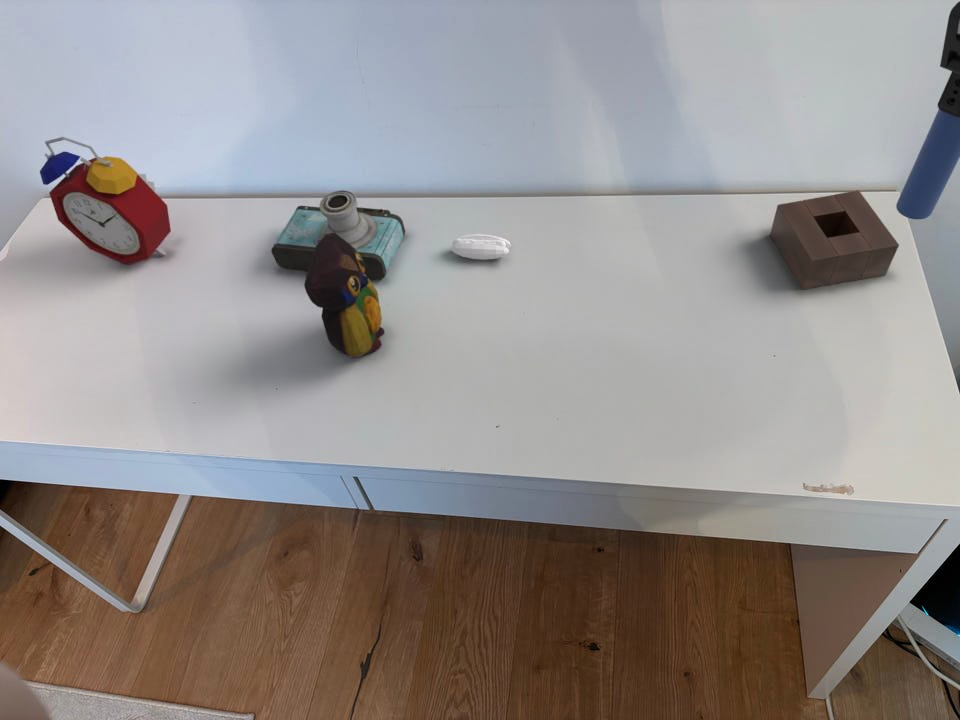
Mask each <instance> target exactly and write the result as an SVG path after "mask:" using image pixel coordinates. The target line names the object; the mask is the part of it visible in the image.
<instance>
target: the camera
mask: <svg viewBox="0 0 960 720" xmlns="http://www.w3.org/2000/svg"><path fill="white" fill-rule="evenodd" d="M334 232H335V233H336V234H337V235H339V236H340V237H341V238H342V239H344V240H345V241H346V242H348V243H349V244H350V245H351V246H352V247H354V248H355V249H356V251H357V252H358V253H359V254H360V256H361V258H362V260H363V263H364V267H365V273H364V274H365V275H366V276H367V277H368V279H369V280H383V279H384V278H385V277H386V275H387V273H388V270H390V266H391V265H392V262H393V260H394V258H395V256H396V254H397V252H398V249H399V248H400V245H401V243H402V241H403V239H404V237H405V235H406V229H405V224H404V222H403V219H402V217H401V216H399V215H398V214H395V213H391V211H390V210H389V209H383V208H371V207H370V208H369V207H358V200H357V197H356V194H354V193H353V192H352V191H349V190H336V191H333V192H330V193H328V194H327V195H325V196H324V197H323V198H322V199H321V200H320V202H319V206H309V205H298V206H297V207H296V209H295V210H294V212H293V213H292V215H291V216H290V218H289V220H288V221H287V223H286V225H285V226H284V228H283V229H282V231H281V233H280V235H279V236H278V237H277V239H276V241H275V242H274V244H273V246H272V248H271V249H270V250H271V251H270V252H271V254H272V256H273V258H274V261H275V263H276V264H277V265H278V266H279V267H280V268H283V269H285V270H292V271H301V272H308V266H309V264H310V262H311V259H312V257H313V254H314V251H315V248H316V246H317V244H318V243H319V242H320V241H321V240H322V238H323V237H324V236H325V235H326V234H330V233H334Z"/></svg>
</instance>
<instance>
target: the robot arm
mask: <svg viewBox="0 0 960 720" xmlns="http://www.w3.org/2000/svg"><path fill="white" fill-rule="evenodd" d="M942 47H943V48H942V54H941V58H940V63H939V64H940V65H939V67H940V68H943V69H945V70H948V71H950V74H949V77H948V80H947V82H946V84H945V86H944V89H943V91H942V93H941V95H940V98H939V100H938V102H937V108H938V110H939V109H940V110H941V111H943V112H945V113H948V114H950V115H952V116H955V117H957V118H960V1H958V2H957V3H956V4H955V5H953V7H952V8H951V10H950V12H949V15H948V19H947V25H946V31H945V36H944V42H943V46H942Z"/></svg>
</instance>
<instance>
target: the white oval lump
mask: <svg viewBox="0 0 960 720" xmlns="http://www.w3.org/2000/svg"><path fill="white" fill-rule="evenodd" d="M511 245H512V244H511V242H510V241H509V240H507V239H505V238H503V237H500V236H496V235H490V234H481V233H480V234H479V233H477V234H475V233H474V234H463V235H461V236H458V237H456V238H454V239H453V241H452V246H451V251H452V252H453V253H454V254H455V255H458V256H459V257H462V258H466V259H471V260H485V261H487V260H495V259H499V258H502V257H506V256H507V255H508V254H509V253H510V248H511Z"/></svg>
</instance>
